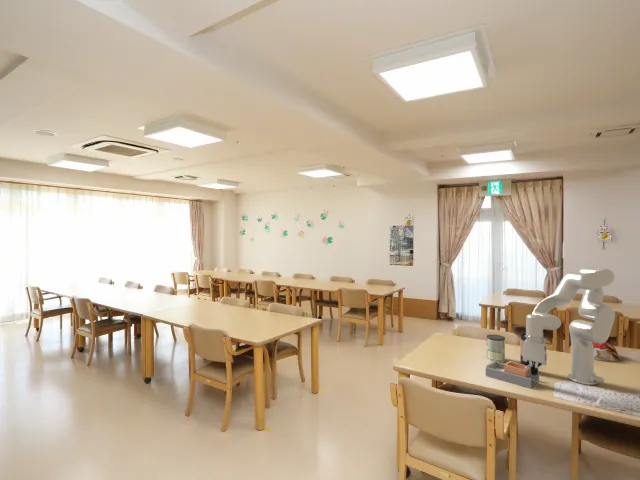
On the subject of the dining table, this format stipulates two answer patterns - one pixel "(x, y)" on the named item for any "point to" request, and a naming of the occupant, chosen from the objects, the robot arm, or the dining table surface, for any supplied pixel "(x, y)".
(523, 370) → the orange drawer with handle
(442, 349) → the dining table surface
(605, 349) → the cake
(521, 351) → the travel mug
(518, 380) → the drawer housing
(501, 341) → the coffee can
